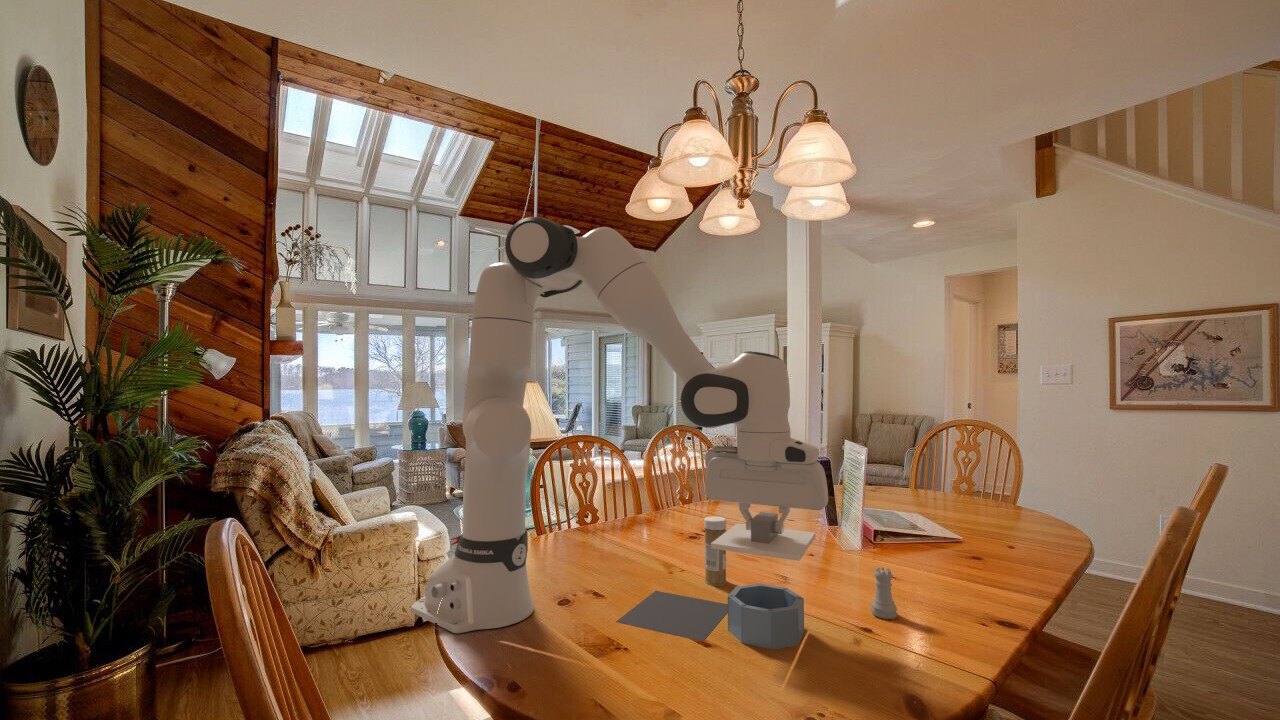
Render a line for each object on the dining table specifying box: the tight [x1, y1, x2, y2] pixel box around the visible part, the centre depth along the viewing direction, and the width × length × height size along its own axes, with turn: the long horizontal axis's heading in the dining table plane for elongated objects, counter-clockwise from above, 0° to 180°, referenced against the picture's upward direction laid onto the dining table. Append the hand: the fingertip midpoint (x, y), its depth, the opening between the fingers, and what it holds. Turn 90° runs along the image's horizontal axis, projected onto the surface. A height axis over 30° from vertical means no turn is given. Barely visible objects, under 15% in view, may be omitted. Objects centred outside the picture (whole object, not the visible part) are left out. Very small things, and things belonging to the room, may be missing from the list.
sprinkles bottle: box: [703, 515, 727, 587], centre depth 114 cm, size 5×5×14 cm
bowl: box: [727, 583, 805, 651], centre depth 91 cm, size 12×12×6 cm
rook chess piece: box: [870, 567, 898, 620], centre depth 98 cm, size 4×4×8 cm
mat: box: [615, 590, 728, 642], centre depth 98 cm, size 16×16×1 cm
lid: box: [711, 511, 816, 562], centre depth 91 cm, size 14×14×4 cm
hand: (764, 531), depth 91 cm, fingers closed on lid, 3 cm apart
